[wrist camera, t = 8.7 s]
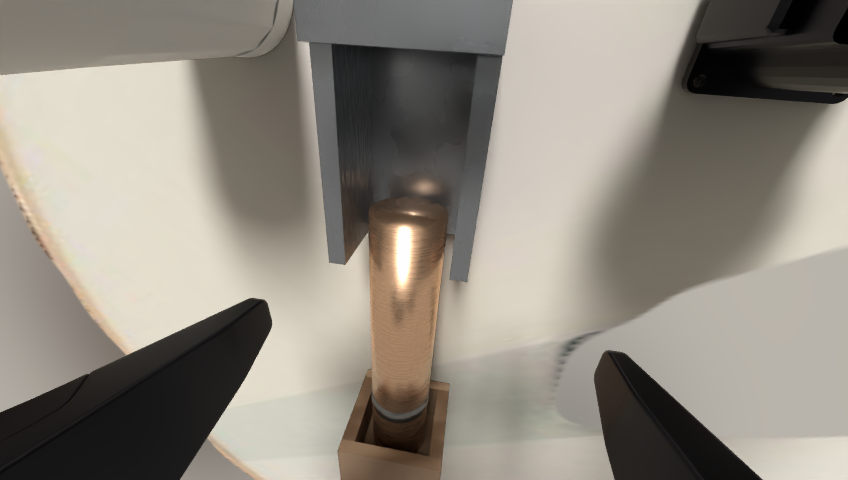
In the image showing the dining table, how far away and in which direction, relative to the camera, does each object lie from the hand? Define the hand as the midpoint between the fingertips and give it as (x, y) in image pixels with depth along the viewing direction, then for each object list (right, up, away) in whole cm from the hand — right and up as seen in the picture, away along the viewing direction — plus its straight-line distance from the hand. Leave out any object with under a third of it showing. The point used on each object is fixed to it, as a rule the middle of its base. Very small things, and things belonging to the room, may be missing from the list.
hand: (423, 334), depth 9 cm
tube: (-1, -3, +14) cm, 14 cm away
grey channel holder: (0, +9, +9) cm, 13 cm away
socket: (-1, -11, +19) cm, 22 cm away
